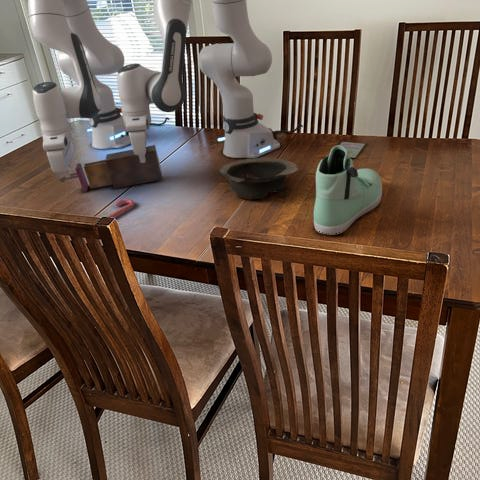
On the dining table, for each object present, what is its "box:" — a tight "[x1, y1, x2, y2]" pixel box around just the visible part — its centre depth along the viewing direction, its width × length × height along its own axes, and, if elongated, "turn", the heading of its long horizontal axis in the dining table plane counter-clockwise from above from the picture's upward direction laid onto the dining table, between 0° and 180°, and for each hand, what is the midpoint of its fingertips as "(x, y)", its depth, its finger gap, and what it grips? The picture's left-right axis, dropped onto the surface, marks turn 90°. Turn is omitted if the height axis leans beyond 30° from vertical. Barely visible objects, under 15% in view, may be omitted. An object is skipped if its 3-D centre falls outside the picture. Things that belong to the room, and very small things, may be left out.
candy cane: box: [106, 198, 135, 218], centre depth 146 cm, size 6×15×2 cm, turn 145°
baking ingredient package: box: [338, 141, 366, 158], centre depth 177 cm, size 9×1×15 cm
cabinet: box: [104, 144, 163, 190], centre depth 163 cm, size 17×6×10 cm, turn 99°
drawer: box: [59, 159, 113, 193], centre depth 162 cm, size 22×4×8 cm, turn 99°
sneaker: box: [313, 145, 383, 236], centre depth 133 cm, size 14×35×20 cm, turn 152°
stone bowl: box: [217, 157, 299, 201], centre depth 152 cm, size 25×25×9 cm
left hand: (68, 176), depth 160 cm, fingers closed, pressing on drawer
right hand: (143, 158), depth 161 cm, fingers closed on cabinet, 6 cm apart
